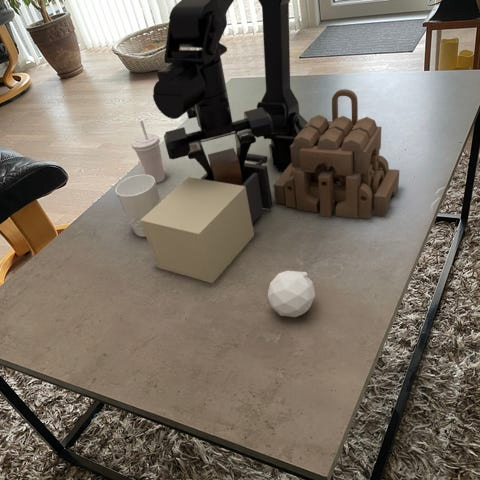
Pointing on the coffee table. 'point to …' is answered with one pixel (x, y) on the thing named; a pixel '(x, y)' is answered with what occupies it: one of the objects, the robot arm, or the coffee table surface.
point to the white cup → (138, 199)
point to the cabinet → (199, 228)
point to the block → (226, 167)
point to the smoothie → (149, 154)
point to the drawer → (255, 185)
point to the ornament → (291, 293)
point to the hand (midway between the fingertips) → (227, 176)
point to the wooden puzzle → (338, 167)
